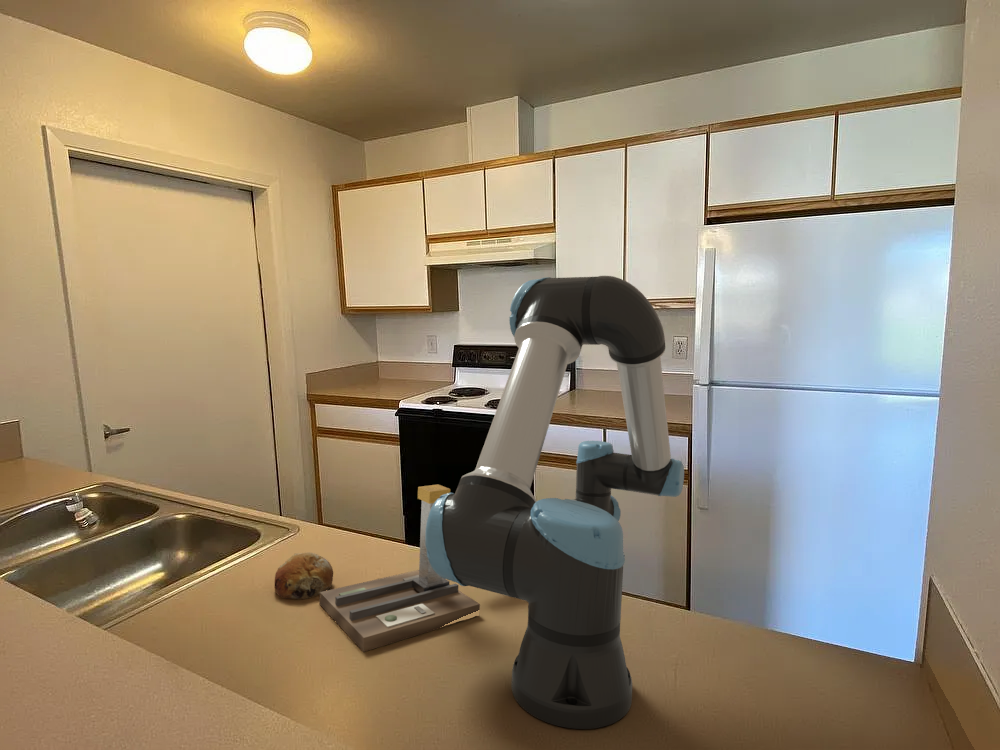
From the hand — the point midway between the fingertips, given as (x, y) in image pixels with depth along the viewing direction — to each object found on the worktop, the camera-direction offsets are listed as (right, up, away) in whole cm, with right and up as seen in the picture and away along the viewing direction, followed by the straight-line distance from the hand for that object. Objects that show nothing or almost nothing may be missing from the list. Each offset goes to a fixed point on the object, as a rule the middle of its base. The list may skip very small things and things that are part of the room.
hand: (463, 539), depth 98 cm
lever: (-5, -7, -4) cm, 10 cm away
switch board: (-10, -9, -8) cm, 16 cm away
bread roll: (-29, -9, -1) cm, 30 cm away
